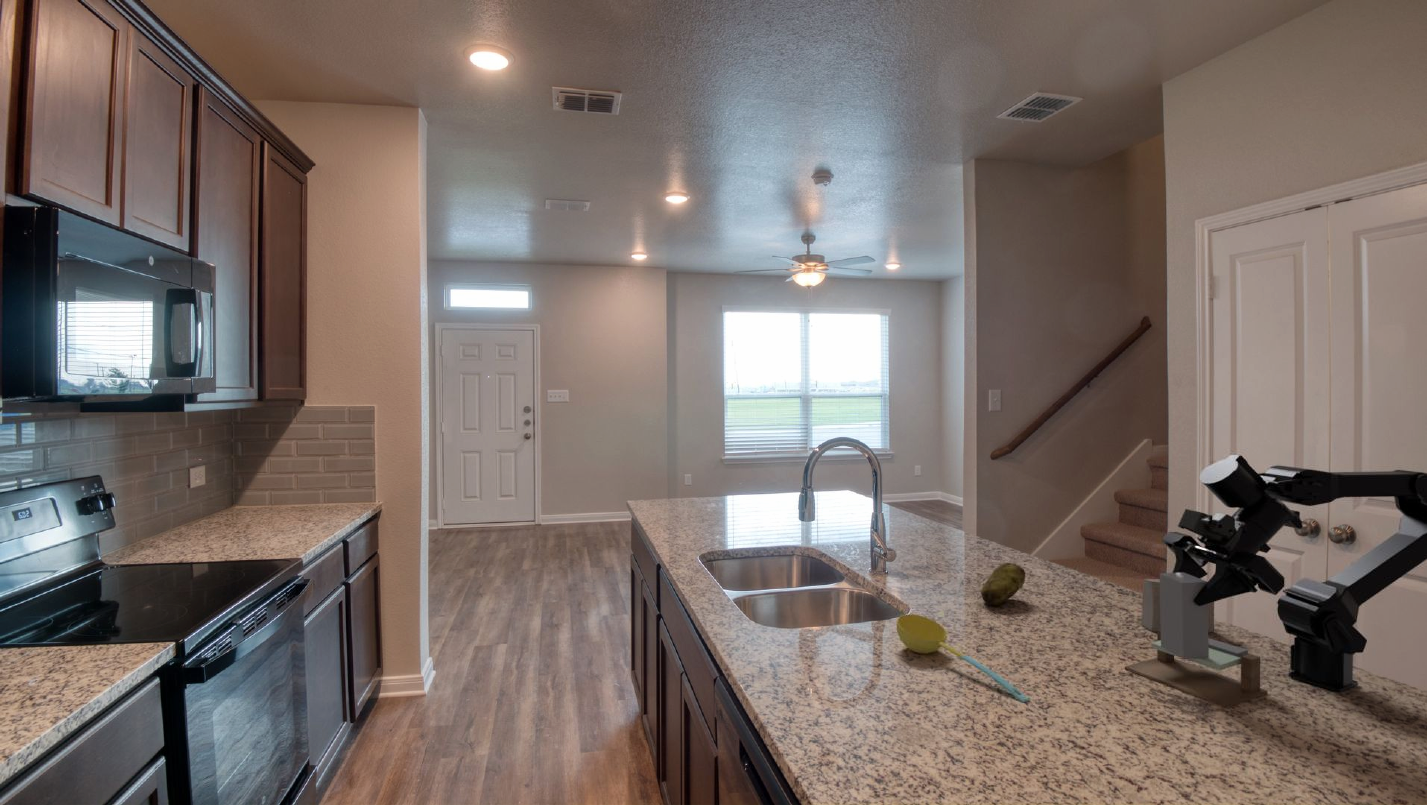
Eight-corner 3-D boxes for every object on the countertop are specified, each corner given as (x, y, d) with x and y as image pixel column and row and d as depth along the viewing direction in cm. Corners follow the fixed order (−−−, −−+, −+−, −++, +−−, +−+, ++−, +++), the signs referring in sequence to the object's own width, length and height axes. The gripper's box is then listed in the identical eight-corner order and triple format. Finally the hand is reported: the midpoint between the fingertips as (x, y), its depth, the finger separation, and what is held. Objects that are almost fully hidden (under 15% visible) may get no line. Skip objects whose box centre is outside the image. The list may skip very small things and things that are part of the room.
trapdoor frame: (1267, 693, 101) (1267, 657, 101) (1226, 707, 96) (1227, 670, 96) (1164, 657, 114) (1165, 626, 114) (1124, 668, 110) (1125, 636, 110)
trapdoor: (1251, 662, 103) (1251, 651, 103) (1219, 674, 100) (1219, 662, 100) (1183, 640, 112) (1183, 630, 112) (1151, 650, 109) (1151, 639, 109)
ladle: (918, 633, 124) (924, 605, 123) (1037, 727, 101) (1046, 694, 100) (882, 638, 120) (888, 610, 119) (996, 737, 97) (1005, 703, 96)
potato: (965, 599, 147) (965, 563, 147) (1008, 593, 152) (1008, 558, 152) (993, 610, 139) (993, 573, 139) (1038, 603, 144) (1038, 567, 144)
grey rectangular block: (1185, 645, 107) (1183, 572, 107) (1208, 657, 102) (1207, 581, 102) (1160, 646, 107) (1159, 573, 107) (1183, 659, 102) (1182, 582, 102)
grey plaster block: (1201, 626, 130) (1202, 578, 130) (1215, 632, 127) (1215, 583, 126) (1140, 625, 130) (1140, 577, 130) (1151, 632, 127) (1152, 583, 127)
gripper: (1172, 484, 114) (1109, 548, 114) (1265, 502, 95) (1190, 579, 95) (1217, 529, 114) (1154, 593, 114) (1318, 556, 95) (1243, 632, 95)
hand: (1181, 597), depth 105 cm, fingers open, 6 cm apart
